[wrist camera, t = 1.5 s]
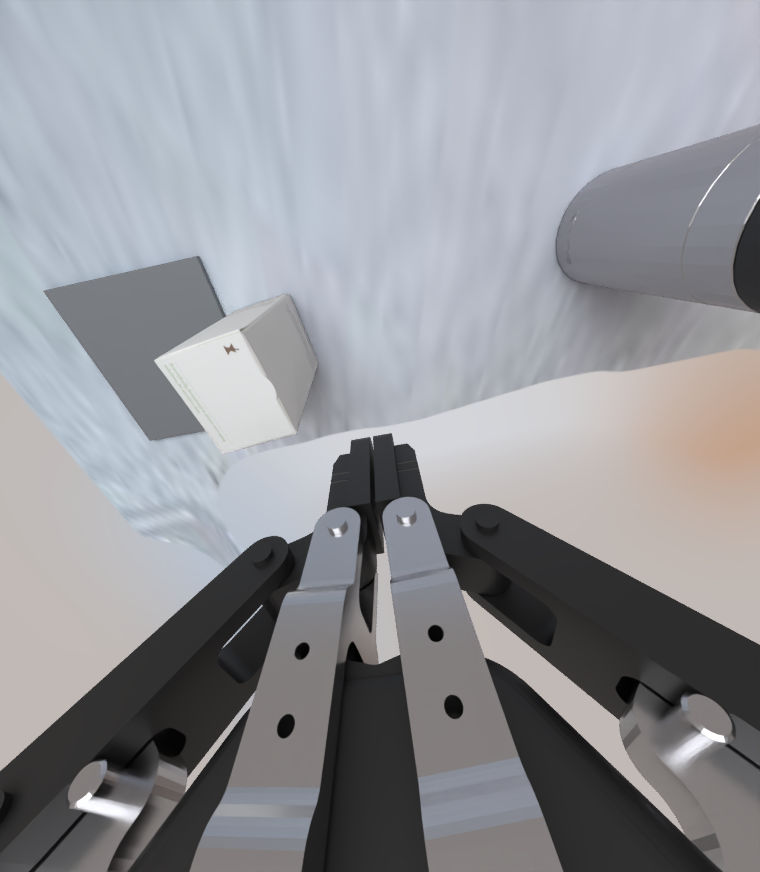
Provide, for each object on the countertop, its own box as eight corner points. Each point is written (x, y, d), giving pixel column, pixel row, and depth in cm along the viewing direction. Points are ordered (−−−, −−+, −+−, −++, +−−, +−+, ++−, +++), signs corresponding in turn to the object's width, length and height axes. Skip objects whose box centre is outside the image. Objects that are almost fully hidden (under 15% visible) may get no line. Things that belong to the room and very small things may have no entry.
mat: (199, 256, 29) (196, 256, 29) (269, 416, 39) (267, 419, 38) (48, 290, 30) (43, 290, 30) (152, 438, 40) (149, 440, 39)
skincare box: (235, 309, 32) (143, 354, 19) (293, 290, 31) (239, 323, 18) (271, 381, 36) (217, 458, 23) (323, 365, 36) (298, 436, 22)
